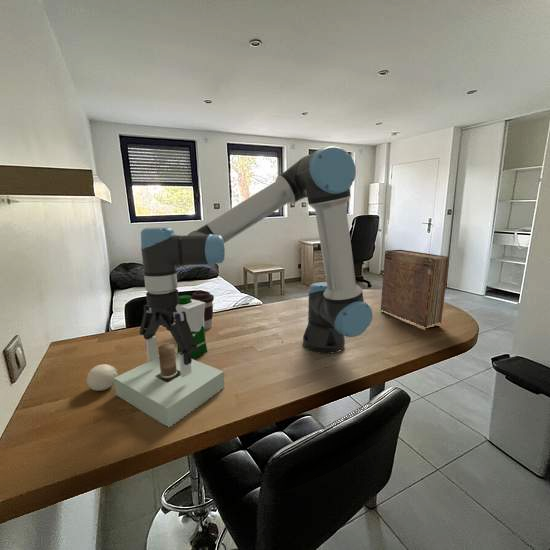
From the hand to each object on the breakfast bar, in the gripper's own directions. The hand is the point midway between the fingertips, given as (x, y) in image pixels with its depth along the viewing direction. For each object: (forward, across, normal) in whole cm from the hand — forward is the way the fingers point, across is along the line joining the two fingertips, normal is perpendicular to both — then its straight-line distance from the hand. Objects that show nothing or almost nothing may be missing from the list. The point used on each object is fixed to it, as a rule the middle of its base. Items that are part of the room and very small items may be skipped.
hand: (169, 367), depth 77 cm
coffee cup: (+7, +26, -36) cm, 45 cm away
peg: (+7, 0, 0) cm, 7 cm away
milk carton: (+7, +12, -18) cm, 23 cm away
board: (+7, 0, 0) cm, 7 cm away
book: (+7, -45, -93) cm, 104 cm away
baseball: (+7, +17, +9) cm, 21 cm away
